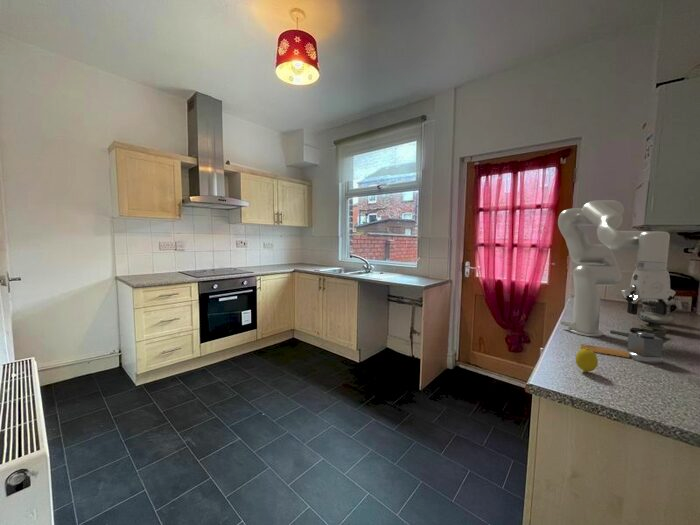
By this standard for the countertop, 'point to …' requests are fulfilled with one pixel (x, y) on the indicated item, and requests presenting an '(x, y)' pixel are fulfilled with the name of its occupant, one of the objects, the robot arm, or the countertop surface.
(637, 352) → the socket
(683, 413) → the countertop surface
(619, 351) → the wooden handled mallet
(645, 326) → the apothecary jar
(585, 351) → the lemon
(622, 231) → the robot arm
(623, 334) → the door handle
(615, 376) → the countertop surface
